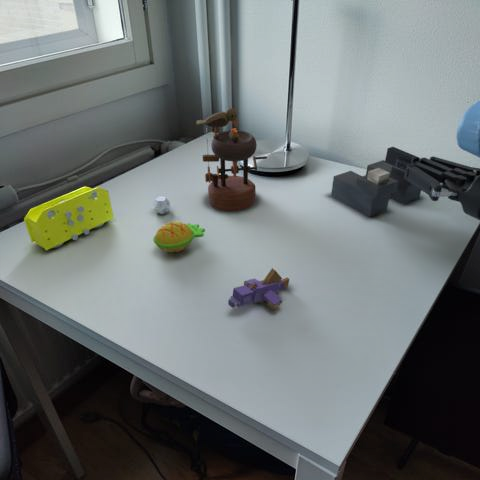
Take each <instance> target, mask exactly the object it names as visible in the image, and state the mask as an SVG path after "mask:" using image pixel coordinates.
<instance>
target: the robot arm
mask: <svg viewBox="0 0 480 480" xmlns="http://www.w3.org/2000/svg"><path fill="white" fill-rule="evenodd" d="M456 144H457V145H458V147H459V148H460V149H461V150H462V151H465V152H467V153H469V154H471V155H474V156H475V157H478V158H480V100H478V101H476V102H475V103H474V104H471V105H470V106H469V107H468V108H467V109H466V111H465V112H464V114H463V115H462V117H461V119H460V121H459V124H458V127H457V131H456ZM385 155H386V156H385V159H384V161H385V162H386V163H388V164H391V165H393V166H395V167H397V168H399V169H402V170H404V171H406V173H405V177H404V179H406V180H407V181H409V182H410V183H412V184H413V185H414V186H416V187H417V188H419V189H420V190H421V192H423V193H425V194H426V195H427V196H428V197H429V199H430V200H431V201H433V202H438V201H439V200H440V197H442V198H443V197H446V198H447V199H448V200H450V201H453V202H458V203H460V205H461V208H462V211H463V213H464V214H466V215H468V216H469V217H472V218H473V219H476V220H478V221H480V167H475V166H469V165H466V164H462V163H458V162H455V161H451V160H448V159H444V158H441V157H437V156H434V155H433V156H430V157H429V158H427V157H421V158H420V157H419V156H417V155H414V154H412V153H409V152H408V151H405V150H403V149H399V148H397V147H395V146H391V147H390V146H389V147H387V149H386V154H385Z"/></svg>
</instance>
